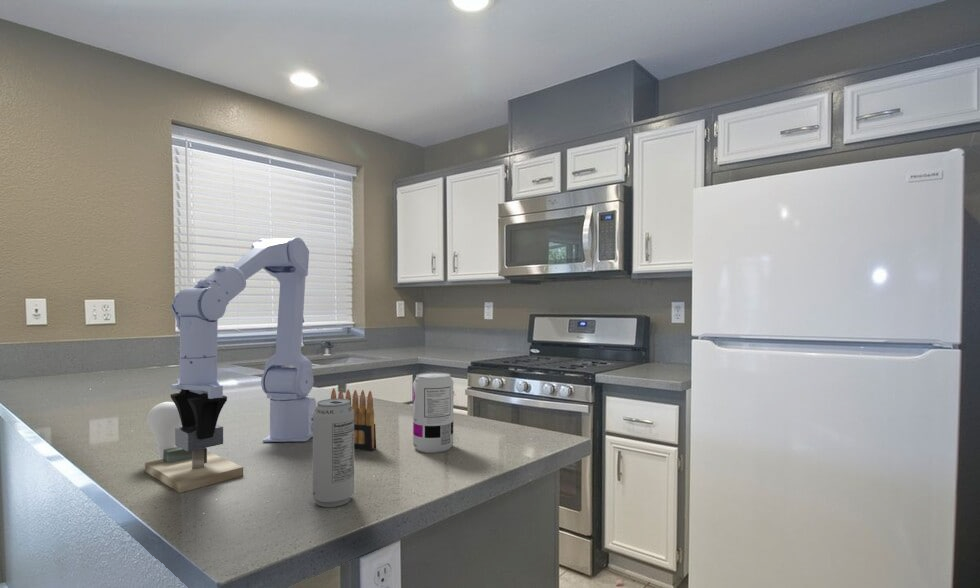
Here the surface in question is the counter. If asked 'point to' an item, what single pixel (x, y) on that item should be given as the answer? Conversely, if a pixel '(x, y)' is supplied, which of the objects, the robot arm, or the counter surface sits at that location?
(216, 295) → the robot arm
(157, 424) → the lightbulb
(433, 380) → the supplement can
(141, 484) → the counter surface
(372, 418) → the ammunition clip
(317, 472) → the energy drink can
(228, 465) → the stand
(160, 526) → the counter surface
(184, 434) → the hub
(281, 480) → the counter surface
